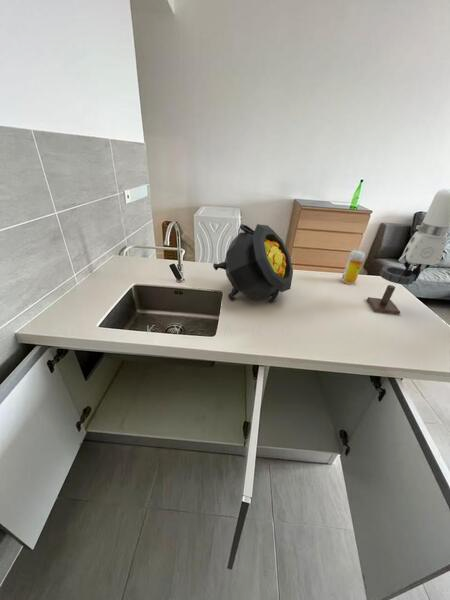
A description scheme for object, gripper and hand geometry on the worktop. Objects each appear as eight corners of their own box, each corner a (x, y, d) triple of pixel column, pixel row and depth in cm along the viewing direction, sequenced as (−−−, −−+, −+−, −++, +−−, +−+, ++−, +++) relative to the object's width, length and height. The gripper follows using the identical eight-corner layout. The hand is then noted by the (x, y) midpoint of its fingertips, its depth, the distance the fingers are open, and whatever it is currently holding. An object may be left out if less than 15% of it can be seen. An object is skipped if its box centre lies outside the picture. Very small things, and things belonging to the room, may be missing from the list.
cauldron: (247, 263, 118) (293, 240, 104) (251, 316, 106) (304, 299, 92) (206, 235, 99) (255, 203, 84) (206, 297, 87) (264, 271, 72)
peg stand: (389, 302, 102) (398, 282, 97) (398, 314, 94) (409, 293, 89) (366, 300, 103) (375, 280, 98) (374, 311, 95) (383, 290, 90)
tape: (404, 273, 95) (407, 267, 94) (418, 286, 86) (421, 279, 85) (375, 270, 97) (377, 264, 95) (386, 282, 87) (389, 276, 86)
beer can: (357, 284, 114) (368, 254, 107) (344, 284, 114) (354, 254, 106) (351, 279, 120) (361, 249, 112) (339, 278, 119) (348, 249, 112)
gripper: (413, 230, 79) (390, 281, 89) (466, 235, 77) (437, 286, 87) (402, 225, 85) (382, 272, 95) (451, 229, 83) (425, 277, 93)
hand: (408, 278), depth 91 cm, fingers closed on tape, 1 cm apart
